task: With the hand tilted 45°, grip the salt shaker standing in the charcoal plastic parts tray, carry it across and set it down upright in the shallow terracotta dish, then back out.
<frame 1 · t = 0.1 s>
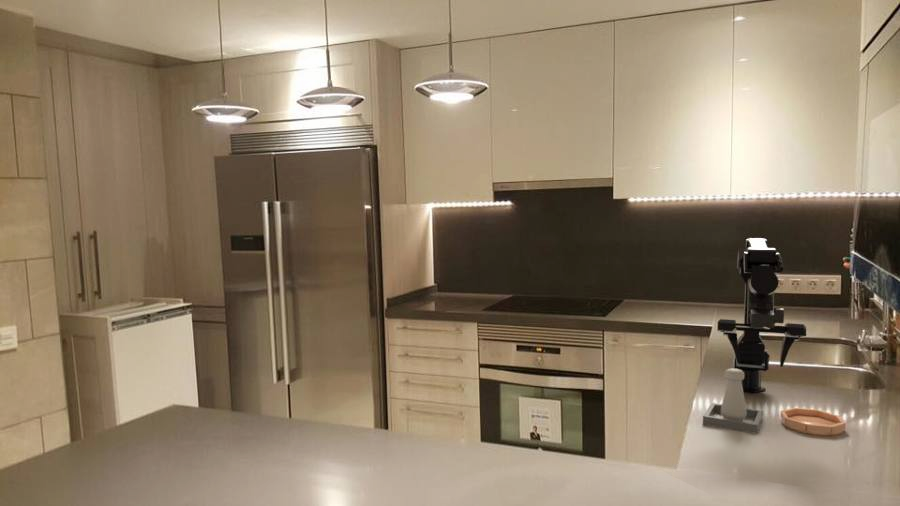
hand: (759, 365, 148), 15 cm above the countertop, tool pointing down, fingers open, 9 cm apart
terracotta dish: (811, 425, 152), on the countertop
charcoal tray: (733, 421, 155), on the countertop
salt shaker: (733, 422, 155), resting in charcoal tray
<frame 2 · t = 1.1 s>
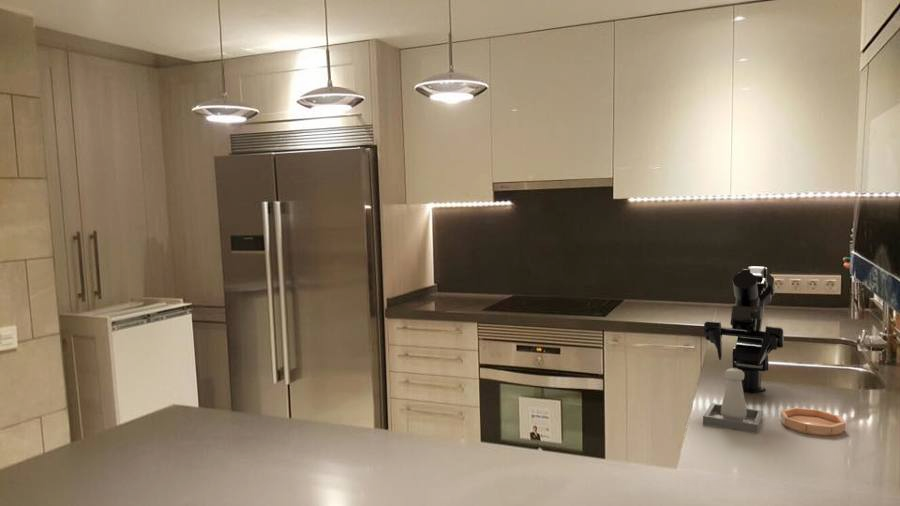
hand: (739, 361, 160), 13 cm above the countertop, tool tilted 45°, fingers open, 9 cm apart
nothing on the countertop moved.
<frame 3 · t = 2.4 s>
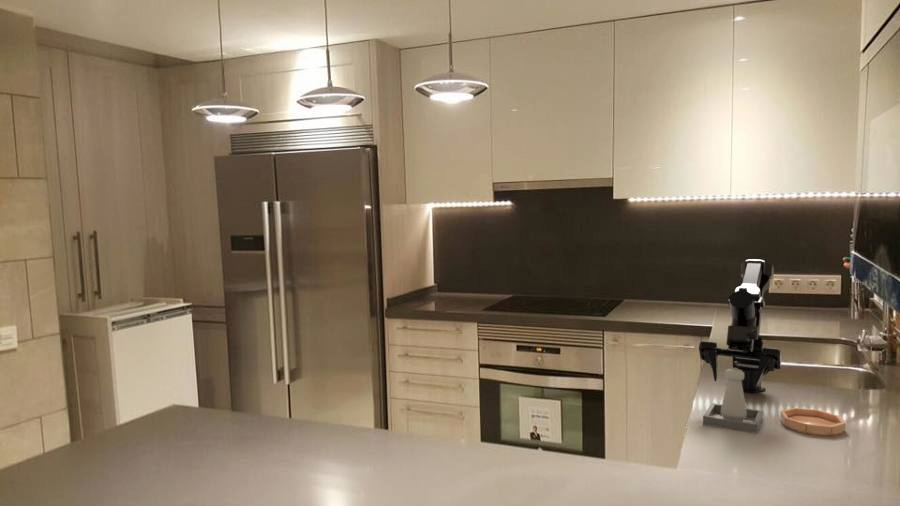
hand: (735, 383, 155), 9 cm above the countertop, tool tilted 45°, fingers open, 9 cm apart
nothing on the countertop moved.
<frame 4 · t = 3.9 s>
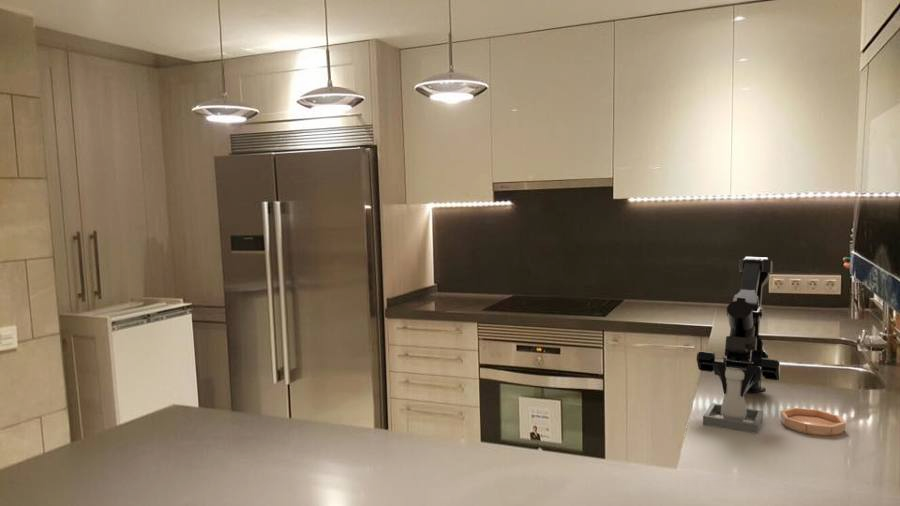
hand: (733, 394, 153), 7 cm above the countertop, tool tilted 45°, fingers closed on salt shaker, 3 cm apart
salt shaker: (733, 422, 155), resting in charcoal tray, touching gripper
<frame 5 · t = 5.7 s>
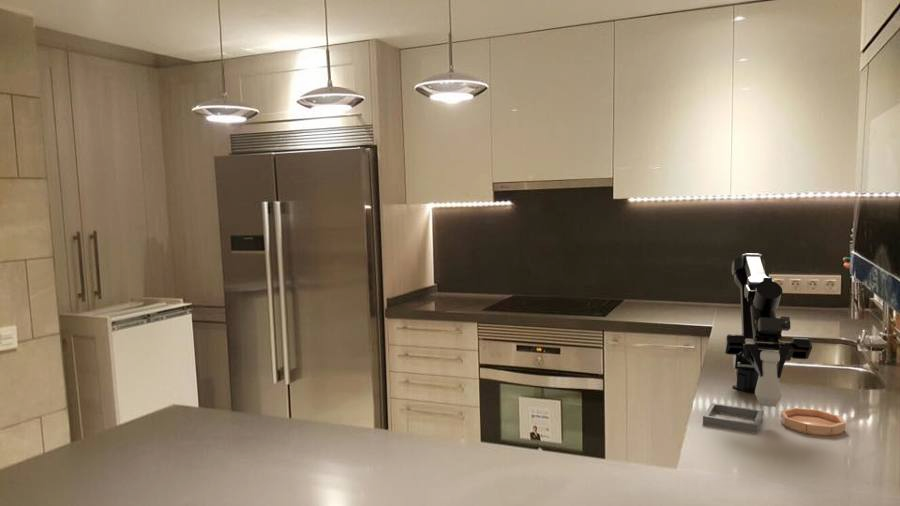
hand: (770, 376, 150), 12 cm above the countertop, tool tilted 45°, fingers closed on salt shaker, 3 cm apart
salt shaker: (767, 404, 152), point 5 cm above the countertop, touching gripper
when the fingers open (9 cm above the countertop, at t = 7.7 s): salt shaker stays where it is, resting on terracotta dish.
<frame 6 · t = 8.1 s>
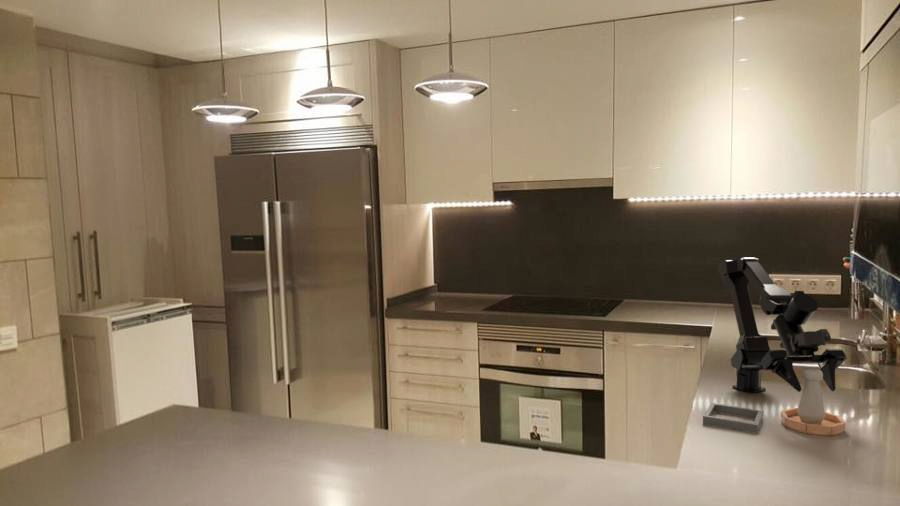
hand: (816, 390, 149), 9 cm above the countertop, tool tilted 45°, fingers open, 8 cm apart
salt shaker: (810, 422, 152), point 1 cm above the countertop, touching terracotta dish
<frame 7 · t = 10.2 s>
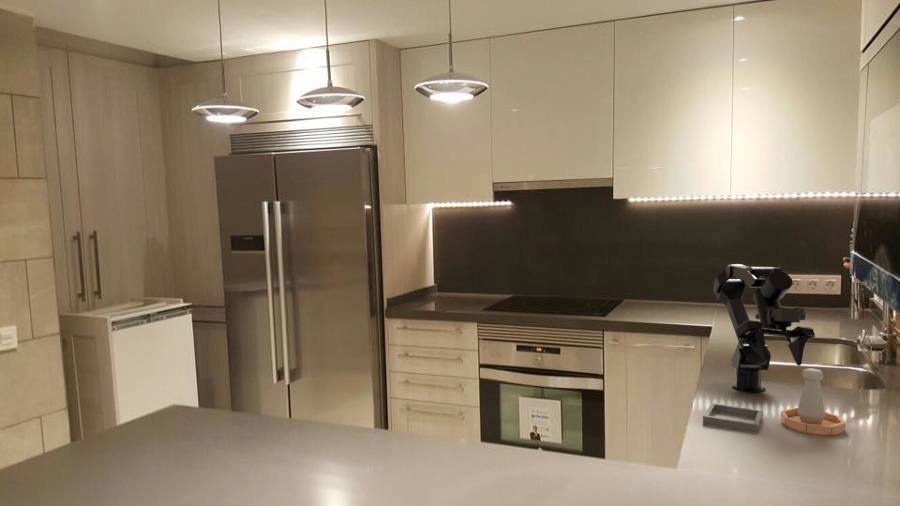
hand: (782, 363, 160), 13 cm above the countertop, tool tilted 35°, fingers open, 9 cm apart
nothing on the countertop moved.
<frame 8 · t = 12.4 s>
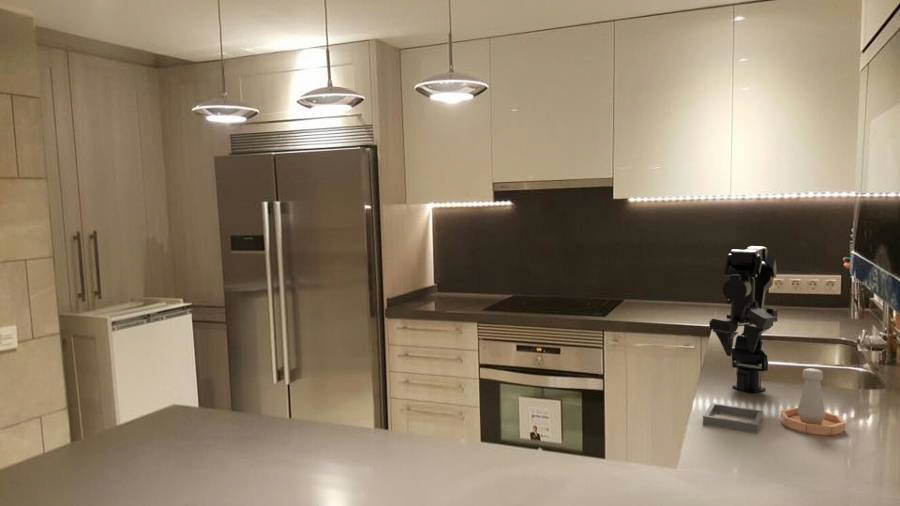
hand: (740, 354, 170), 13 cm above the countertop, tool pointing down, fingers open, 9 cm apart
nothing on the countertop moved.
at the end: salt shaker 0.3 cm off-centre on the terracotta dish, point 0.6 cm above the terracotta dish's base; salt shaker tilted 0°; the gripper is holding nothing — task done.
